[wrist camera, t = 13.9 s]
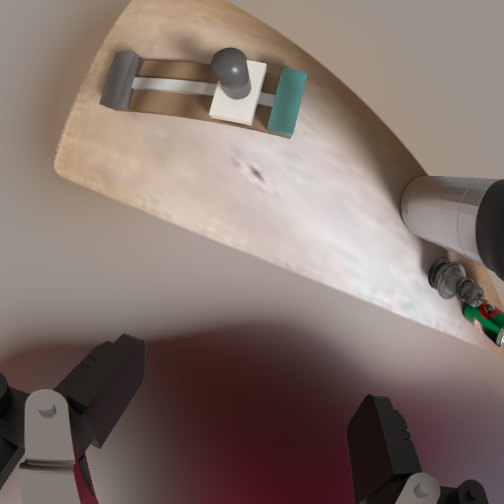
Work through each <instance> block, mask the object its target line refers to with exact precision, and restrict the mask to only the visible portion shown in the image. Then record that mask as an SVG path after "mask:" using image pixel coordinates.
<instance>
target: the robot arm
mask: <svg viewBox="0 0 504 504" xmlns="http://www.w3.org/2000/svg"><path fill="white" fill-rule="evenodd" d="M401 214H402V218H403V221H404V224H405V225H406V227H407V229H408V230H409V231H410V232H411V233H413V234H414V235H416V236H418V237H420V238H423V239H425V240H427V241H429V242H431V243H434V244H436V245H438V246H441V247H443V248H445V249H447V250H449V251H452V252H454V253H456V254H458V255H460V256H462V257H465V258H467V259H469V260H471V261H473V262H475V263H477V264H479V265H481V266H483V267H485V268H488V269H489V270H491V271H494V272H495V273H496V275H497V276H498V277H499V278H500V279H501V280H503V281H504V179H491V178H471V177H470V178H469V177H445V176H421V177H418V178H415V179H414V180H413V181H411V182H410V183H409V184H408V185H407V187H406V189H405V190H404V193H403V196H402V200H401ZM144 375H145V342H144V340H141V339H139V338H136V337H133V336H131V335H128V334H126V333H124V334H122V335H121V336H120V337H119V338H118V339H117V341H116V342H115V343H114V344H113V343H111V342H109V341H107V342H105V343H103V344H100V345H98V346H96V347H95V348H94V349H93V350H92V351H91V352H90V353H89V354H88V355H87V357H85V358H84V359H83V360H82V361H81V363H80V364H78V365H77V366H76V367H75V368H74V369H73V370H72V371H71V372H70V373H69V374H68V375H67V376H66V377H65V379H63V380H62V381H61V382H60V383H59V385H58V386H57V387H56V388H54V389H53V390H48V389H43V390H38V391H35V392H33V393H32V394H28V393H25V392H23V391H19V390H17V389H14V388H11V387H9V385H8V383H7V380H6V378H5V377H4V376H3V374H2V373H0V490H1V488H2V486H3V485H4V483H5V482H6V480H7V479H8V477H9V475H10V474H11V472H12V471H13V470H14V468H15V467H16V465H17V463H18V462H19V461H20V459H21V458H22V456H23V455H24V453H25V462H24V463H20V465H19V480H20V489H21V496H22V503H23V504H99V502H98V500H97V497H96V494H95V490H94V487H93V483H92V479H91V475H90V471H89V467H88V462H87V457H86V453H85V451H86V450H87V448H88V447H89V445H90V444H91V445H93V446H95V447H97V448H99V449H101V447H102V445H103V444H104V442H105V441H106V439H107V438H108V436H109V434H110V433H111V431H112V429H113V428H114V427H115V425H116V424H117V422H118V420H119V419H120V417H121V416H122V414H123V413H124V411H125V410H126V408H127V407H128V405H129V403H130V402H131V400H132V399H133V397H134V396H135V394H136V393H137V391H138V390H139V388H140V386H141V384H142V382H143V379H144ZM347 442H348V449H349V456H350V464H351V472H352V480H353V489H354V498H355V504H489V503H488V500H487V497H486V493H485V491H484V488H483V486H482V485H481V484H480V483H479V482H477V481H475V480H466V481H464V482H463V483H462V484H461V485H459V486H458V487H457V488H451V487H443V486H440V485H439V483H438V482H437V480H436V479H435V478H434V477H433V476H431V475H430V474H427V473H423V472H422V470H421V466H420V463H419V460H418V457H417V454H416V451H415V447H414V445H413V442H412V441H411V436H410V433H409V432H408V427H407V424H406V422H405V419H404V418H403V417H402V416H401V414H400V413H399V412H398V411H397V410H394V409H393V406H392V404H391V401H390V398H389V397H388V396H384V395H374V394H368V395H367V396H366V397H365V399H364V400H363V401H362V403H361V405H360V406H359V408H358V409H357V411H356V412H355V414H354V416H353V417H352V418H351V420H350V421H349V424H348V427H347Z"/></svg>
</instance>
